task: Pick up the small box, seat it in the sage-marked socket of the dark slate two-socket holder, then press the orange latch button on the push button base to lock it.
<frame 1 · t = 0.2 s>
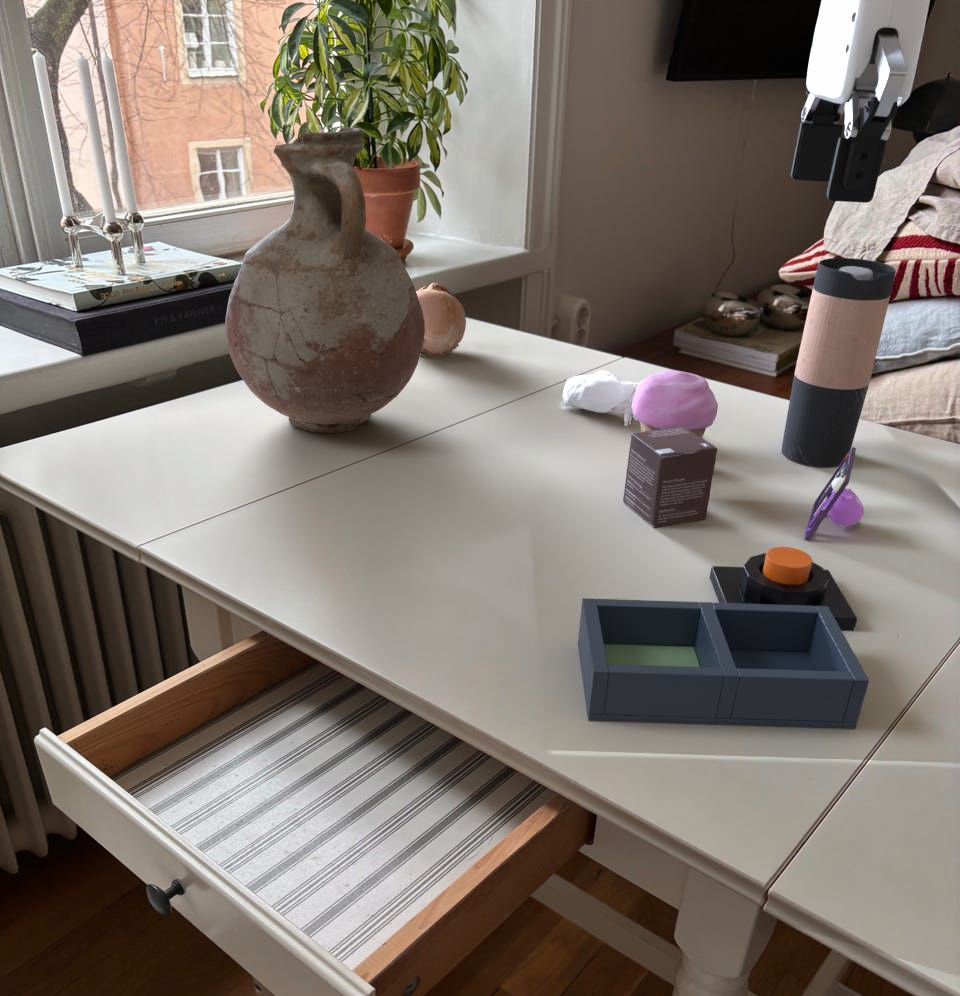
hand: (828, 189, 75), 30 cm above the table, tool pointing down, fingers open, 9 cm apart
box: (663, 513, 96), on the table
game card: (834, 528, 94), on the table
push button base: (778, 603, 81), on the table
onion: (431, 354, 137), on the table
holder: (708, 684, 71), on the table
jug: (332, 421, 114), on the table
latch button: (787, 566, 79), point 3 cm above the table, slide at 0.1 cm
cupcake: (665, 465, 106), on the table
travel mug: (813, 456, 109), on the table
bird figurine: (597, 415, 118), on the table
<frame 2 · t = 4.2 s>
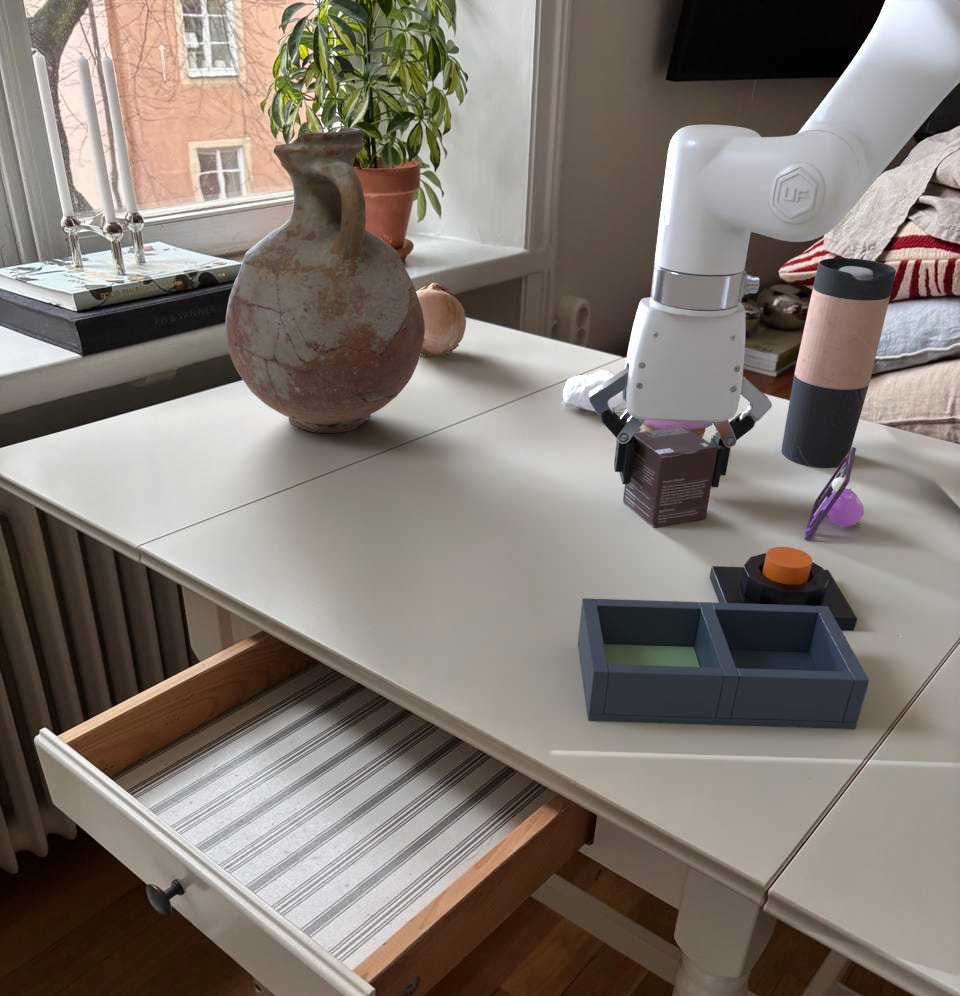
hand: (668, 479, 94), 3 cm above the table, tool pointing down, fingers closed on box, 7 cm apart
box: (663, 513, 96), on the table, touching gripper
everything else where it was.
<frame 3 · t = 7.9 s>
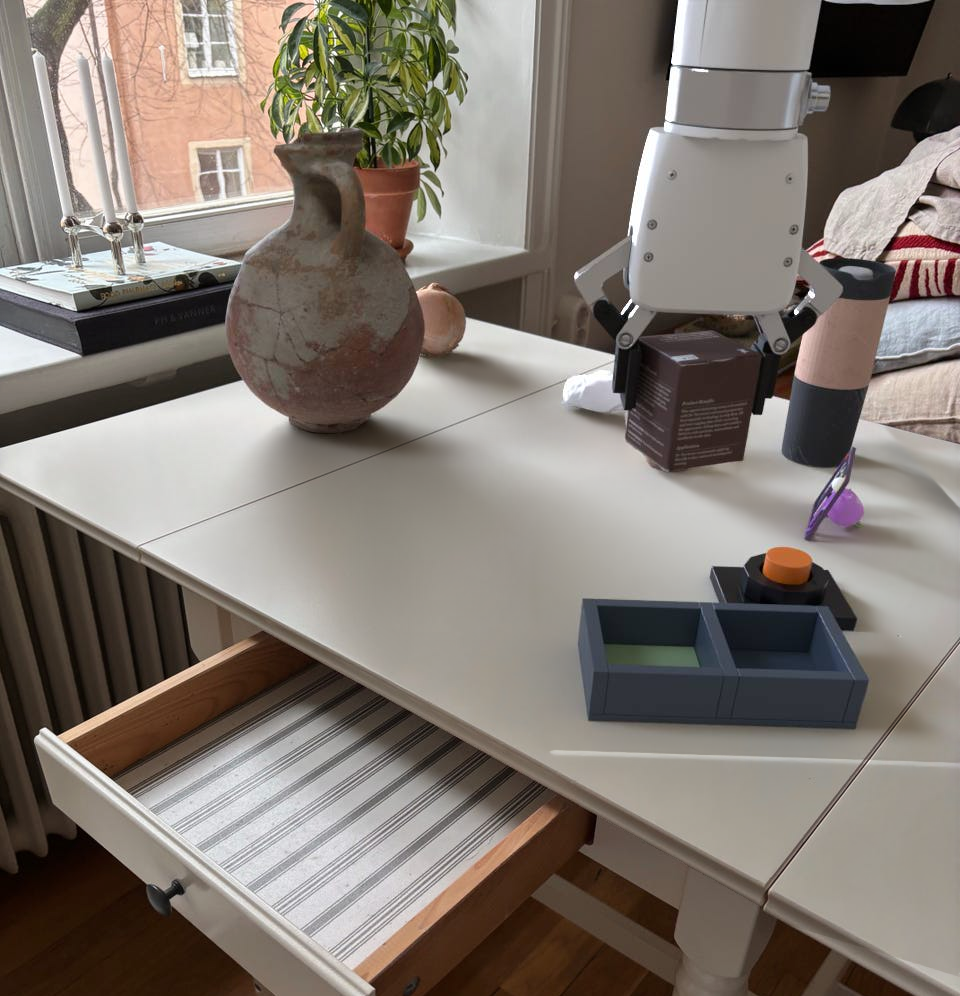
hand: (689, 404, 66), 19 cm above the table, tool pointing down, fingers closed on box, 7 cm apart
box: (682, 455, 68), point 15 cm above the table, touching gripper
everything else where it was.
when the fingers open (6 cm above the table, at t = 11.7 s): box drops 2 cm, resting on holder.
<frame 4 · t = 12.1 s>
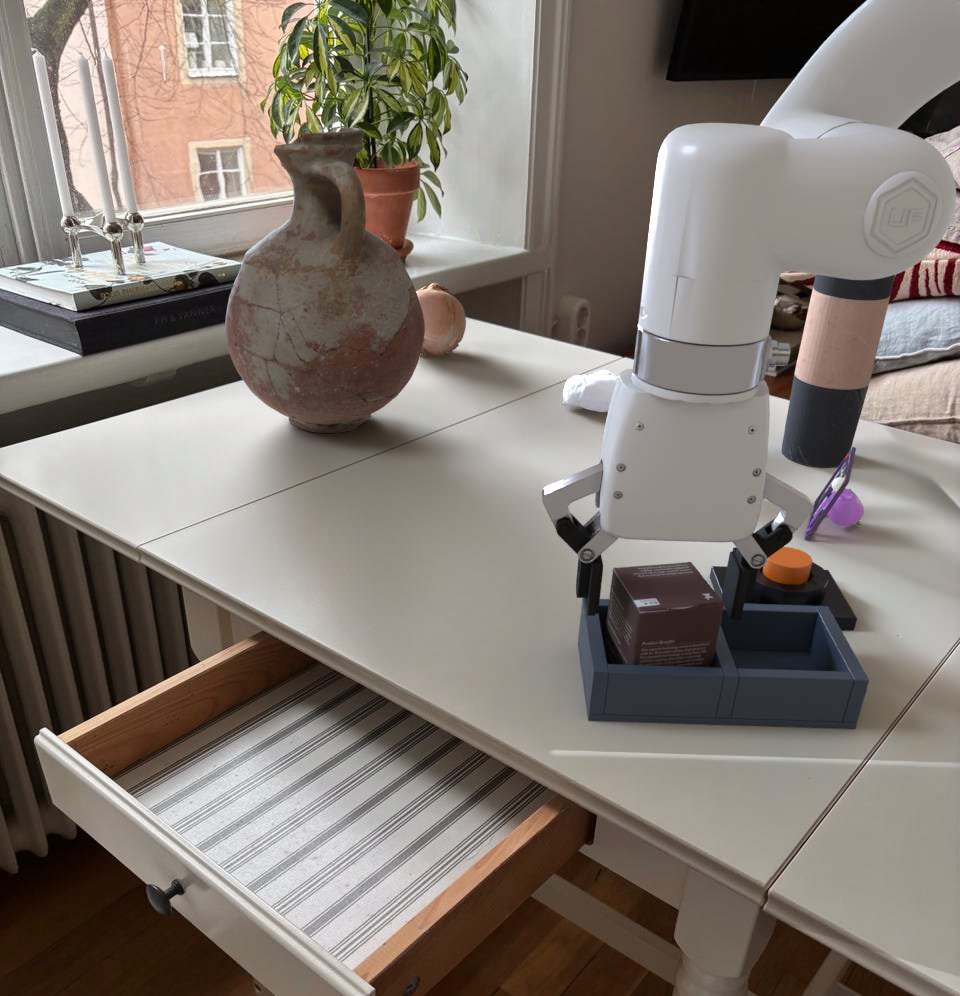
hand: (660, 607, 68), 6 cm above the table, tool pointing down, fingers open, 9 cm apart
box: (653, 675, 71), point 1 cm above the table, touching holder
everything else where it was.
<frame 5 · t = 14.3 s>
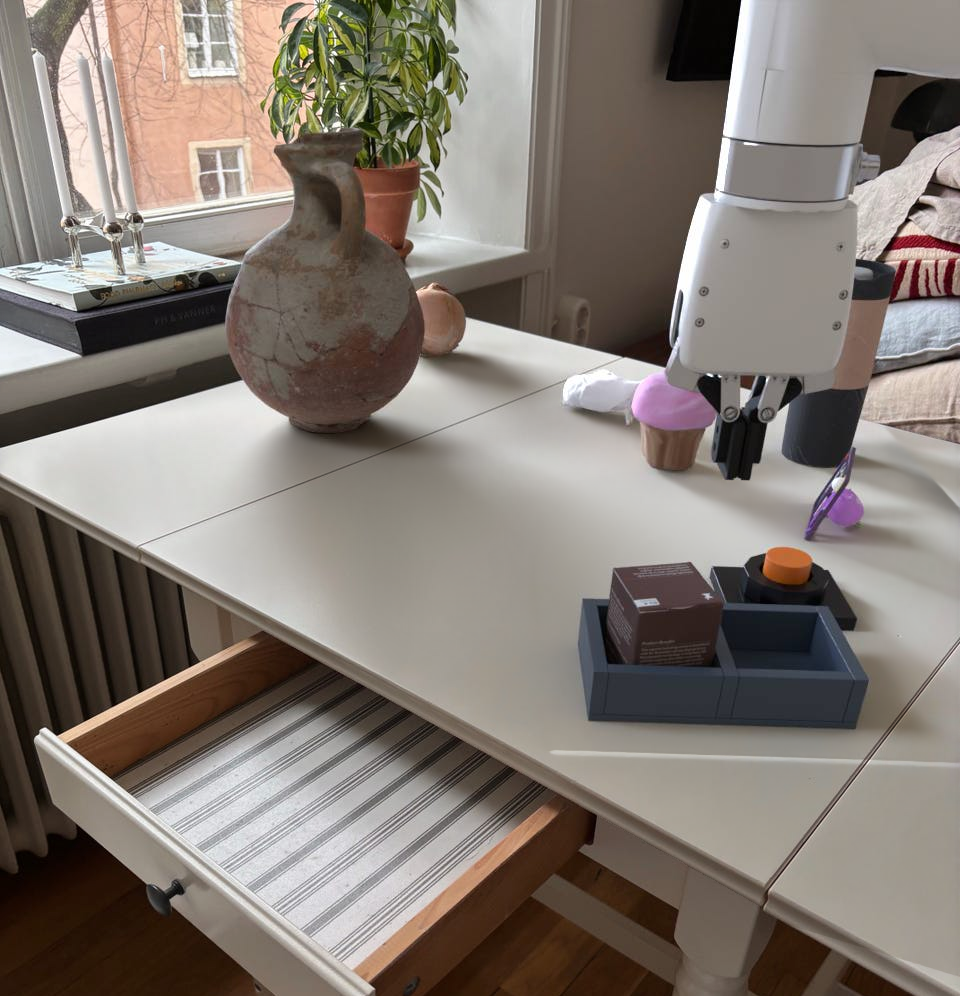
hand: (732, 471, 67), 15 cm above the table, tool pointing down, fingers closed
nothing on the table moved.
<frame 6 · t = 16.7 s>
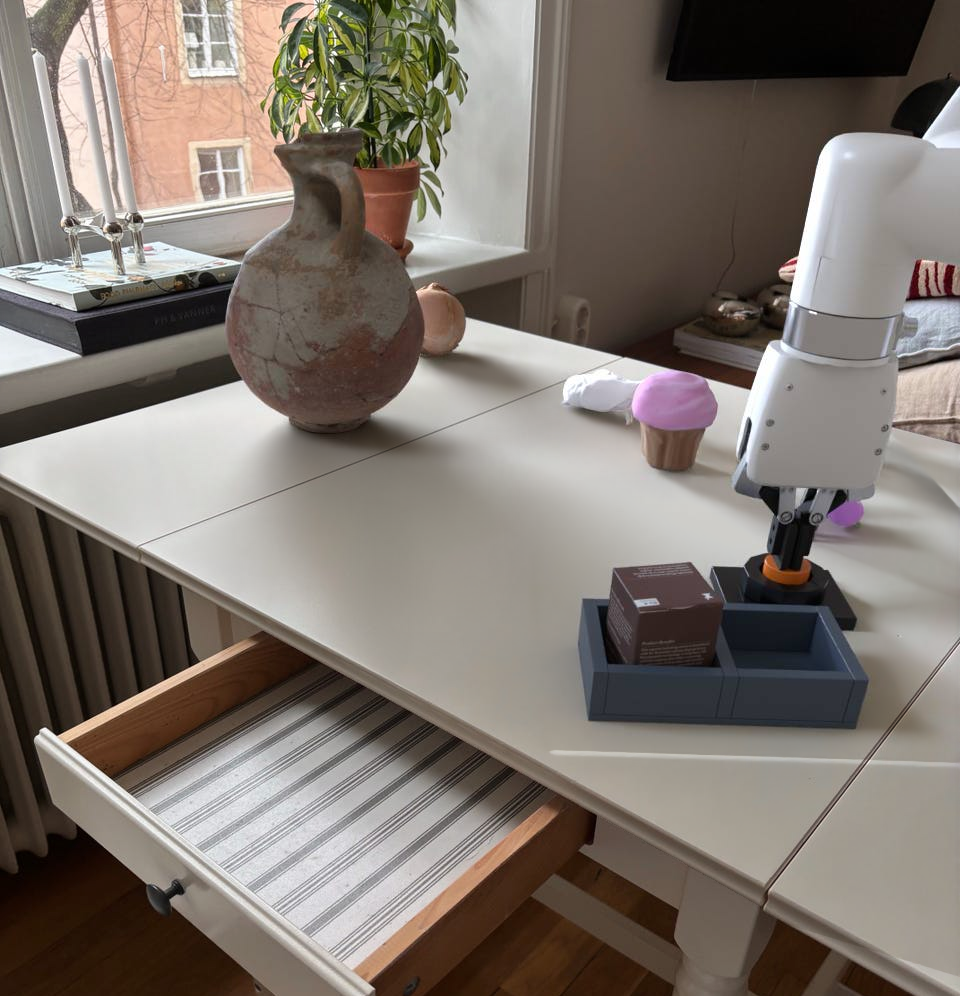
hand: (784, 561, 79), 4 cm above the table, tool pointing down, fingers closed
latch button: (785, 572, 80), point 3 cm above the table, slide at -0.4 cm, touching gripper
everything else where it was.
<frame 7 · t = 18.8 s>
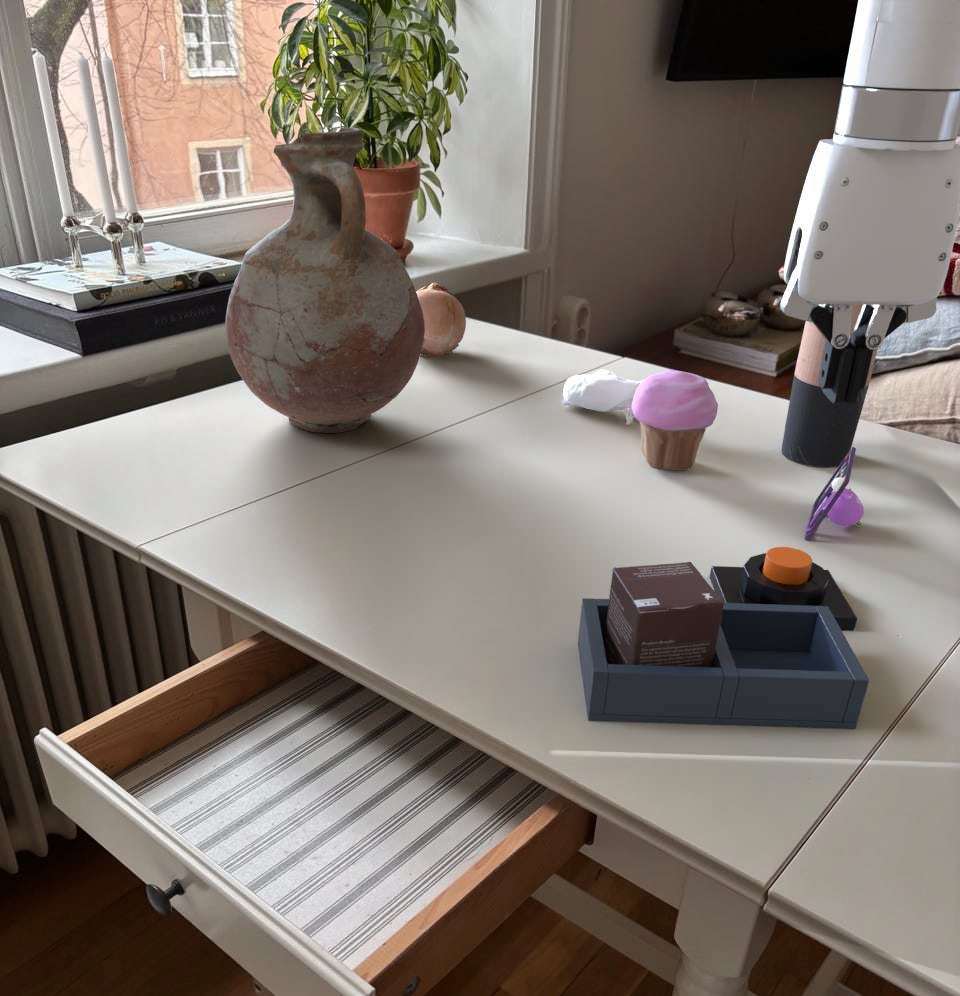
hand: (838, 397, 73), 17 cm above the table, tool pointing down, fingers closed
latch button: (787, 566, 79), point 3 cm above the table, slide at 0.1 cm
everything else where it was.
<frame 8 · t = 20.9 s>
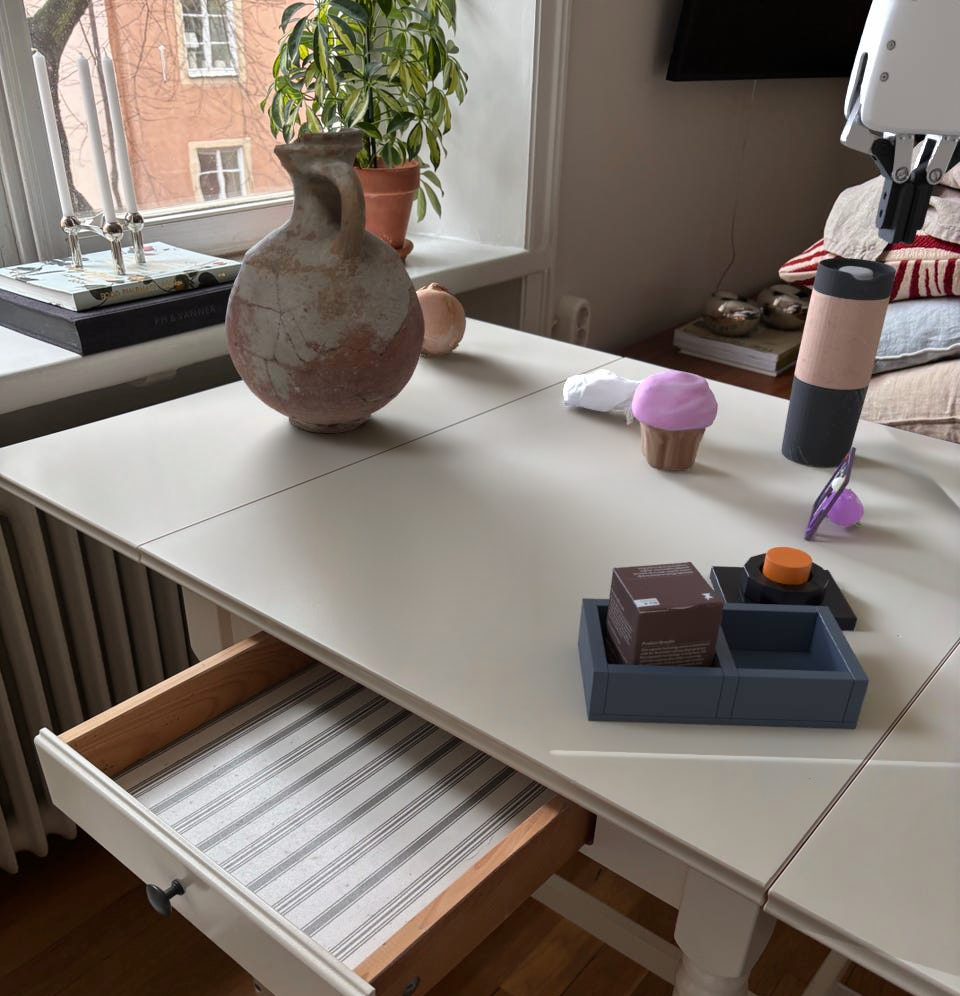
hand: (895, 239, 73), 27 cm above the table, tool pointing down, fingers closed
nothing on the table moved.
at the end: box 0.2 cm from the target spot in the holder, point 0.6 cm above the holder's base; latch button pushed in 1.1 cm at the most during the clip, back to where it started at the end; latch button slide at 0.1 cm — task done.
